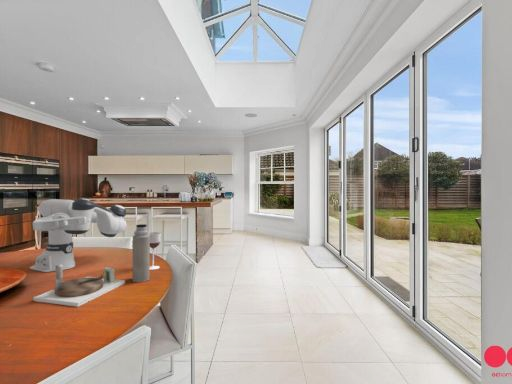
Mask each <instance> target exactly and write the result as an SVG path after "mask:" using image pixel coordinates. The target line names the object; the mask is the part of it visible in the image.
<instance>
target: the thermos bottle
mask: <svg viewBox="0 0 512 384" xmlns="http://www.w3.org/2000/svg"><path fill="white" fill-rule="evenodd" d="M147 227H148V226H147V224H136V229H135V230H134V233H133V236H132V274H131V275H132V277H131V278H132V282H134V283H144V282H146V281H149V280H150V270H149V267H150V266H151V265H150V263H151V262H150V257H151V256H150V255H151V254H150V251H151V247H150V235H148V233H150V232H149V230H147Z"/></svg>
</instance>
